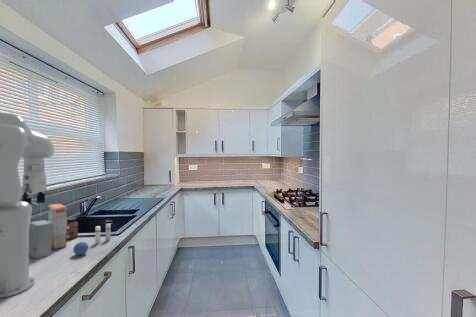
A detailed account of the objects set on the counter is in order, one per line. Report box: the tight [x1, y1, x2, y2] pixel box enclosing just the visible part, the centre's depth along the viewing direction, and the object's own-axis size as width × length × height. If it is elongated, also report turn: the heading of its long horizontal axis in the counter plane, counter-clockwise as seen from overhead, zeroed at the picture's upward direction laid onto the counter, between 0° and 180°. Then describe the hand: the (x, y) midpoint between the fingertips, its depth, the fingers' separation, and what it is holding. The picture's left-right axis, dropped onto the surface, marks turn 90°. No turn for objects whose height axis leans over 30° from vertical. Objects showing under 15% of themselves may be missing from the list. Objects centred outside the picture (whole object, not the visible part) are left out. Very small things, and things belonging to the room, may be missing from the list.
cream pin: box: [94, 225, 102, 245], centre depth 130 cm, size 2×2×9 cm
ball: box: [73, 241, 89, 256], centre depth 115 cm, size 6×6×6 cm
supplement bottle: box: [66, 217, 79, 241], centre depth 137 cm, size 6×6×11 cm
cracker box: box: [48, 203, 68, 250], centre depth 127 cm, size 14×6×21 cm, turn 46°
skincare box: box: [29, 219, 53, 260], centre depth 114 cm, size 8×7×16 cm
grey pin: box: [105, 223, 112, 242], centre depth 134 cm, size 2×2×9 cm
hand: (34, 204), depth 113 cm, fingers open, 9 cm apart
